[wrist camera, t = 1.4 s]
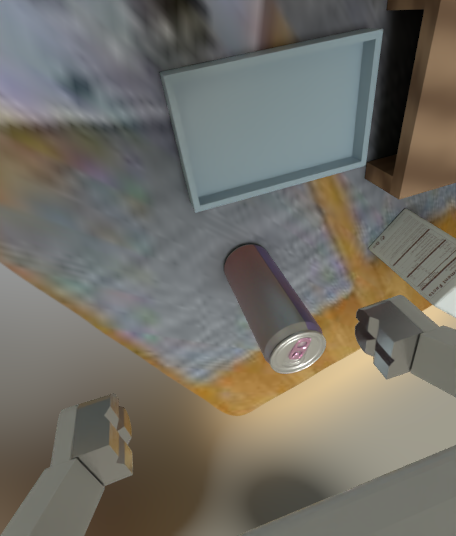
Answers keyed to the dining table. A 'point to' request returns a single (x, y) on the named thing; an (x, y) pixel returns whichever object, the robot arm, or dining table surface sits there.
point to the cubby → (425, 109)
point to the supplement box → (421, 258)
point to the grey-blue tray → (273, 116)
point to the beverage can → (273, 310)
